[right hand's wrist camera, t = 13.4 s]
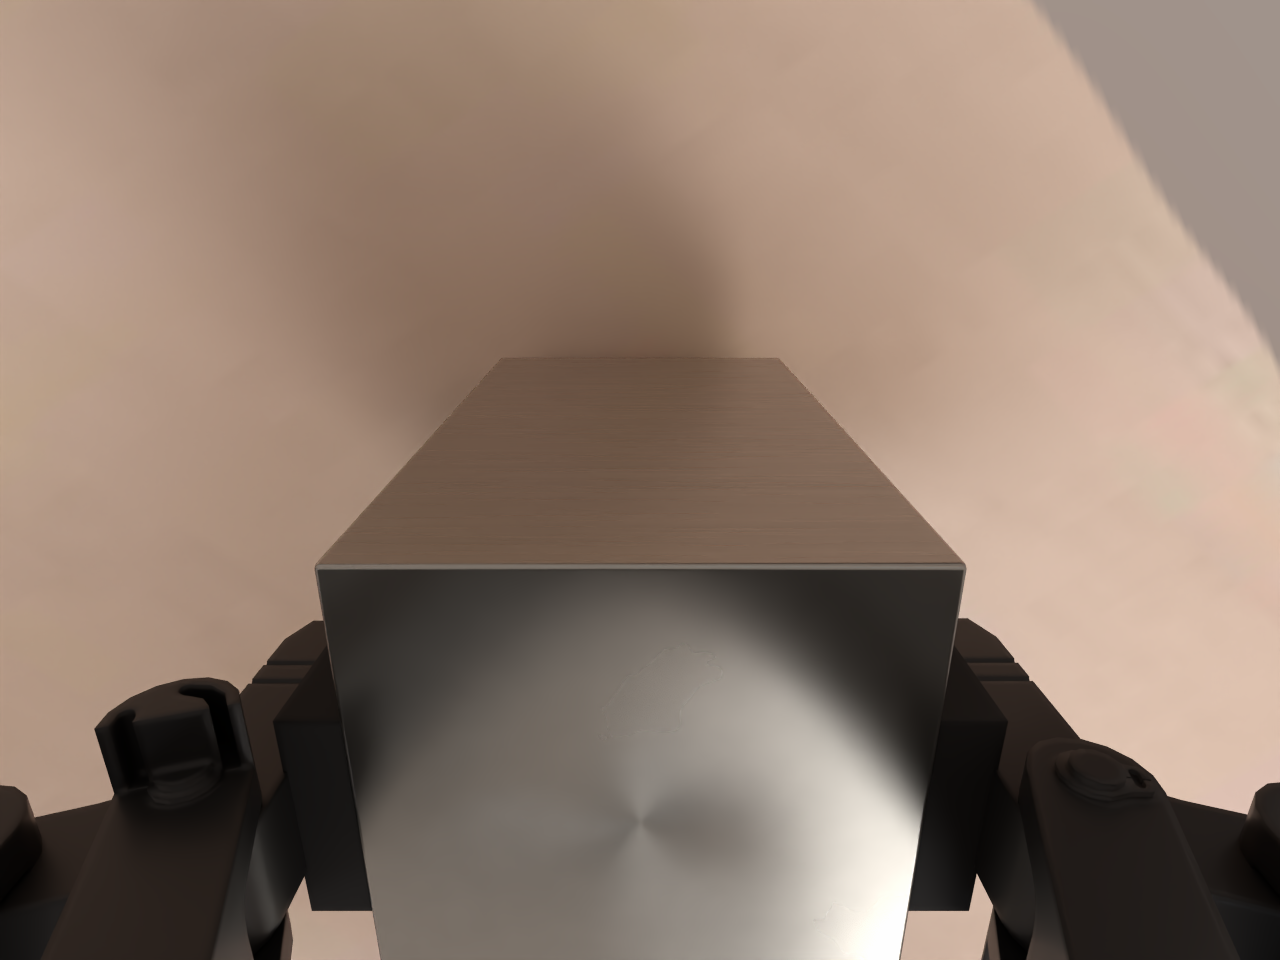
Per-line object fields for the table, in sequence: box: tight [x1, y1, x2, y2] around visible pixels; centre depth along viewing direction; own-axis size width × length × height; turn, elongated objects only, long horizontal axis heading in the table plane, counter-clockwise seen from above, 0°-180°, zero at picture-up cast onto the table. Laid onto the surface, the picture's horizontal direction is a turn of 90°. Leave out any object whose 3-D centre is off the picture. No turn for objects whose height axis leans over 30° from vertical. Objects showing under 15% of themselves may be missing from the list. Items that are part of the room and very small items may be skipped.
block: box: [315, 358, 966, 960], centre depth 13 cm, size 6×6×10 cm
